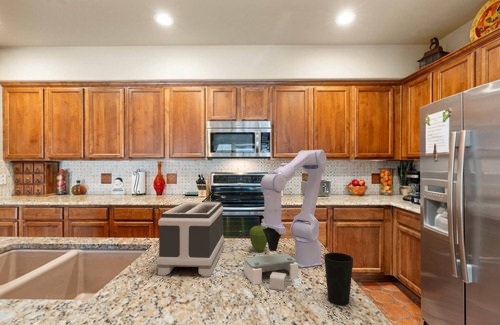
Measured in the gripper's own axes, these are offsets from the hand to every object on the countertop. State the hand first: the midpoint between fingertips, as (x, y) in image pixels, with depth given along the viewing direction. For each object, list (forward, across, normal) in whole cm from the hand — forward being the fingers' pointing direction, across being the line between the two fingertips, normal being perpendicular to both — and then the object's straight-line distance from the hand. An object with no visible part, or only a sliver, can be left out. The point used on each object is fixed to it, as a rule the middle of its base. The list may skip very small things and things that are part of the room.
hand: (272, 250), depth 87 cm
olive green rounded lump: (+9, -26, +6) cm, 29 cm away
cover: (+4, -2, 0) cm, 5 cm away
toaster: (+9, -26, -21) cm, 35 cm away
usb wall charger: (+9, +8, 0) cm, 12 cm away
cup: (+9, +20, +11) cm, 24 cm away
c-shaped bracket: (+9, -2, 0) cm, 9 cm away
